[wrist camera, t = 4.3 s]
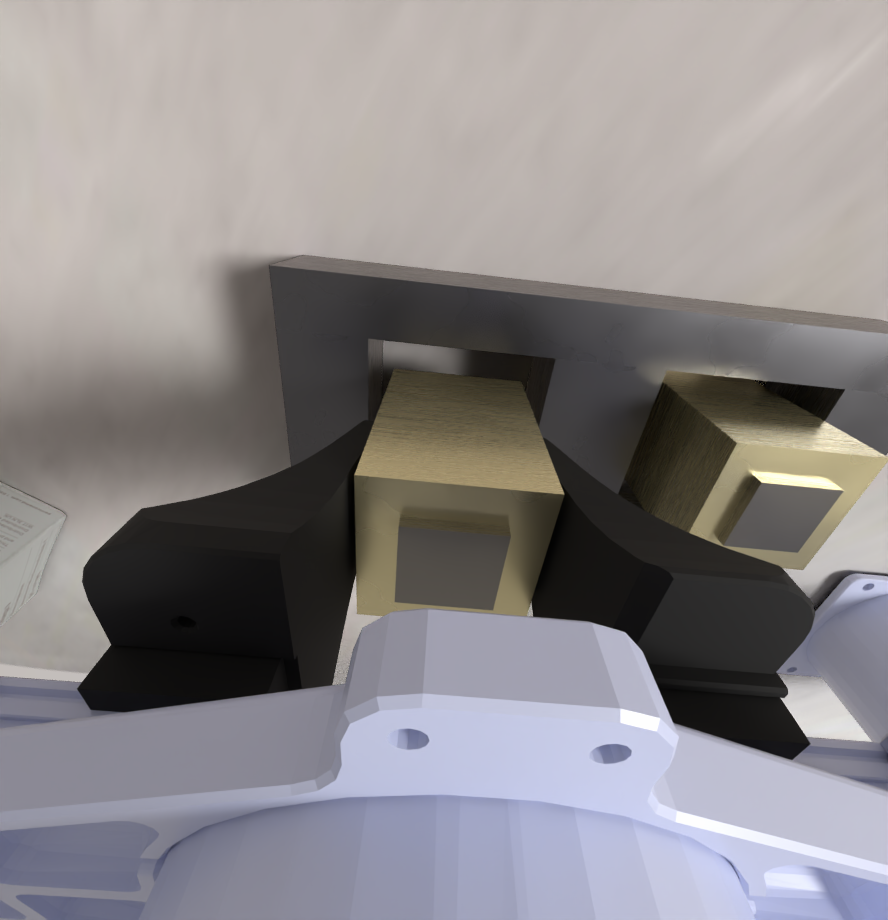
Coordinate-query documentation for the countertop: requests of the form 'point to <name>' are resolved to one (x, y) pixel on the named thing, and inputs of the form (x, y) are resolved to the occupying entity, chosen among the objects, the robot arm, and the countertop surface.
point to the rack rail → (560, 352)
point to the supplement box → (23, 546)
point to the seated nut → (747, 468)
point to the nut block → (453, 498)
